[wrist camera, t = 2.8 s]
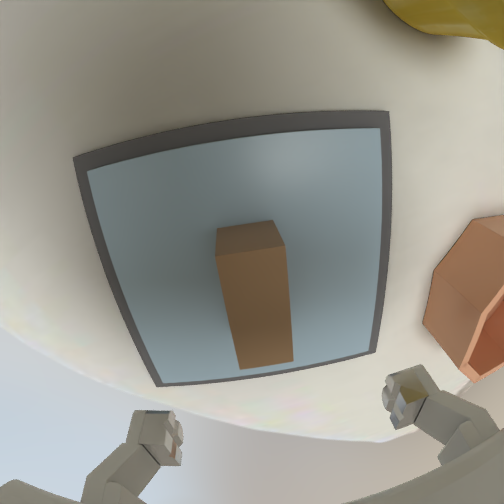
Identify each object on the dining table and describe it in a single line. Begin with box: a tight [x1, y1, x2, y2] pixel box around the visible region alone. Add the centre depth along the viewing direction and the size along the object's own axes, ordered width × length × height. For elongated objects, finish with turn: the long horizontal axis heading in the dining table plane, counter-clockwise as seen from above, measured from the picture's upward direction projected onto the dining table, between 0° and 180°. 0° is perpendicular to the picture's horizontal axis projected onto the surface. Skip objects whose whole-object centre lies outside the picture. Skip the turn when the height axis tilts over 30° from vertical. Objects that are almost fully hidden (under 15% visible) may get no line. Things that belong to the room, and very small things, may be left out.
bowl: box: [423, 215, 504, 383], centre depth 18 cm, size 13×13×6 cm
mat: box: [73, 111, 392, 387], centre depth 18 cm, size 18×18×1 cm
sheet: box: [87, 128, 382, 383], centre depth 16 cm, size 16×16×4 cm
